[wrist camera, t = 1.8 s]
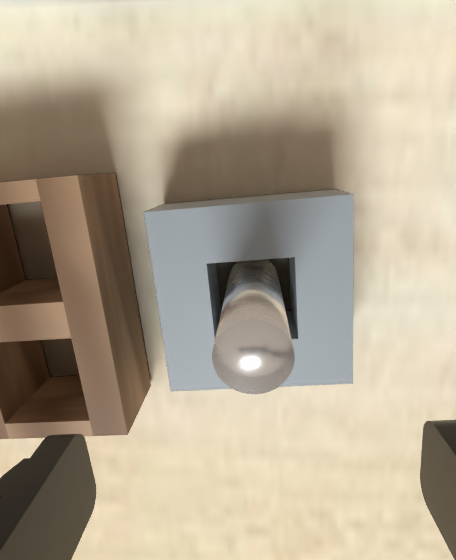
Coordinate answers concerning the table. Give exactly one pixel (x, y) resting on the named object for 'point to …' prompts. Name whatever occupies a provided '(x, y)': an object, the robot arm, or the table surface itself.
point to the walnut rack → (70, 315)
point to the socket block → (255, 246)
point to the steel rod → (253, 331)
